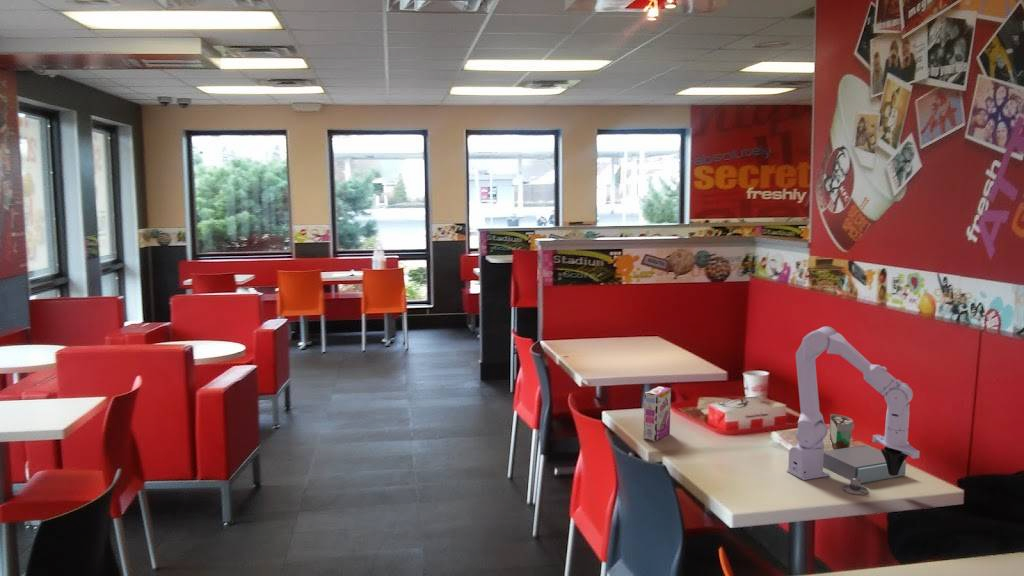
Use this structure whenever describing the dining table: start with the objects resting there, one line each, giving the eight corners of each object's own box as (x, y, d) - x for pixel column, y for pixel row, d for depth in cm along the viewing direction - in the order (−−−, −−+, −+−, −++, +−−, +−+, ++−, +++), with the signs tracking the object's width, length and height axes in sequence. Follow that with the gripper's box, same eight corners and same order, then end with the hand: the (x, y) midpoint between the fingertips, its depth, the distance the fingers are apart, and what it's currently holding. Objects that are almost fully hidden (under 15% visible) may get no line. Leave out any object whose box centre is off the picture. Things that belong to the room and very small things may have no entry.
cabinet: (900, 473, 237) (901, 459, 236) (854, 481, 231) (855, 467, 230) (864, 458, 250) (865, 444, 249) (820, 465, 244) (821, 451, 243)
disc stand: (854, 496, 221) (855, 484, 220) (837, 487, 227) (838, 476, 226) (872, 493, 223) (873, 481, 222) (855, 484, 229) (856, 473, 228)
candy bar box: (656, 442, 266) (657, 394, 264) (643, 439, 269) (643, 392, 267) (670, 433, 275) (671, 387, 273) (657, 431, 278) (658, 385, 276)
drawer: (905, 475, 235) (906, 461, 234) (859, 483, 229) (860, 469, 229) (870, 460, 247) (871, 447, 247) (826, 467, 242) (826, 454, 241)
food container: (856, 456, 251) (858, 426, 250) (836, 455, 252) (837, 425, 251) (848, 443, 263) (850, 414, 262) (828, 442, 264) (830, 413, 263)
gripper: (929, 434, 215) (925, 482, 217) (887, 418, 228) (884, 463, 230) (909, 437, 212) (905, 485, 215) (868, 421, 226) (864, 466, 228)
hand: (893, 474), depth 222 cm, fingers closed
